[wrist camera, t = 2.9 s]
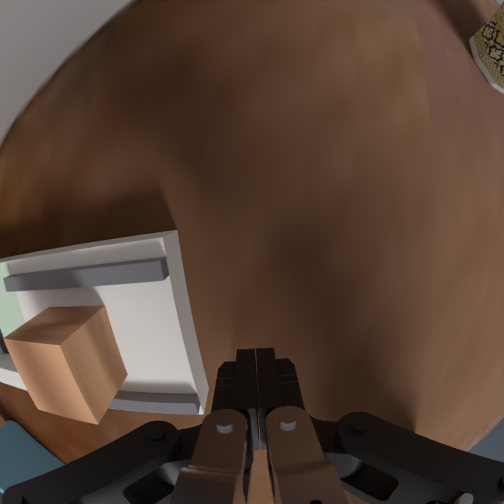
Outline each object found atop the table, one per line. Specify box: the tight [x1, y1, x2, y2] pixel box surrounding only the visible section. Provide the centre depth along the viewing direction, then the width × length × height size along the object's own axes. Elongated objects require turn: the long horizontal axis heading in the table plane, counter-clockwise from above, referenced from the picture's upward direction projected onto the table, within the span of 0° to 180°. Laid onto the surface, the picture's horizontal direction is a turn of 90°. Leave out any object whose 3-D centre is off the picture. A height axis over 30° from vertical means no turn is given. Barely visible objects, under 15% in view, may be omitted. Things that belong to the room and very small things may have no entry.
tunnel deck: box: [0, 230, 209, 414], centre depth 16 cm, size 24×12×4 cm, turn 96°
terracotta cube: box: [3, 305, 128, 424], centre depth 13 cm, size 5×5×5 cm
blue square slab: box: [0, 420, 65, 493], centre depth 17 cm, size 12×4×12 cm, turn 45°
